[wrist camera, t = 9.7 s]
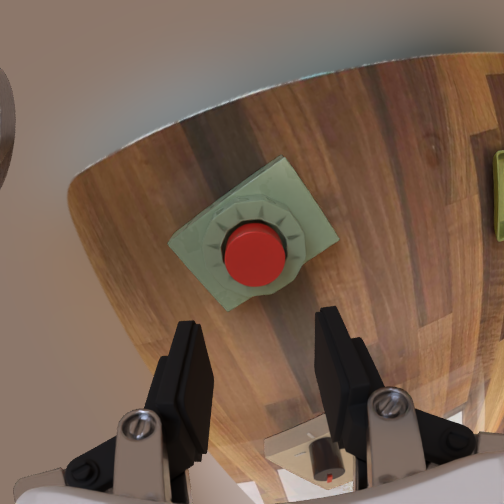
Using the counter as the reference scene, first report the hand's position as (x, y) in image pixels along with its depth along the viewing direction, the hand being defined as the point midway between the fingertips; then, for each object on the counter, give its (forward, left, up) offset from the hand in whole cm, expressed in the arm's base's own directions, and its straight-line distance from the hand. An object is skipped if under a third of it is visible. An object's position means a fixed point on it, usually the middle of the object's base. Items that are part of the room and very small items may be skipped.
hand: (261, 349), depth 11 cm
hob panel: (-8, -32, -13) cm, 36 cm away
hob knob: (-8, -25, -10) cm, 28 cm away
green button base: (0, 0, -13) cm, 13 cm away
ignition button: (0, 0, -10) cm, 10 cm away
